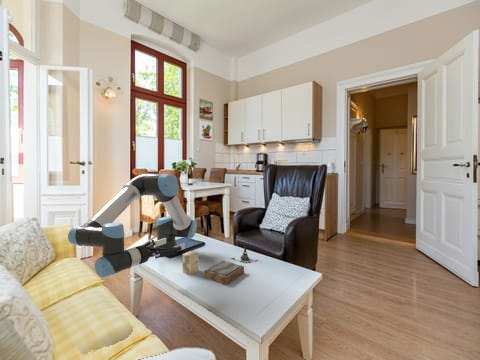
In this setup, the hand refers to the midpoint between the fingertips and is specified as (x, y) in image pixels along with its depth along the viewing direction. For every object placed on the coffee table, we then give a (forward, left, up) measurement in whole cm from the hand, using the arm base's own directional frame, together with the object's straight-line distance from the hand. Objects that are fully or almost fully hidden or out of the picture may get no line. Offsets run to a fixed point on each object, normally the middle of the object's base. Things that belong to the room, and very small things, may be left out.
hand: (174, 243), depth 118 cm
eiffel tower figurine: (+15, +42, -20) cm, 49 cm away
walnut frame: (+18, +18, -19) cm, 32 cm away
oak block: (0, +11, -19) cm, 22 cm away
